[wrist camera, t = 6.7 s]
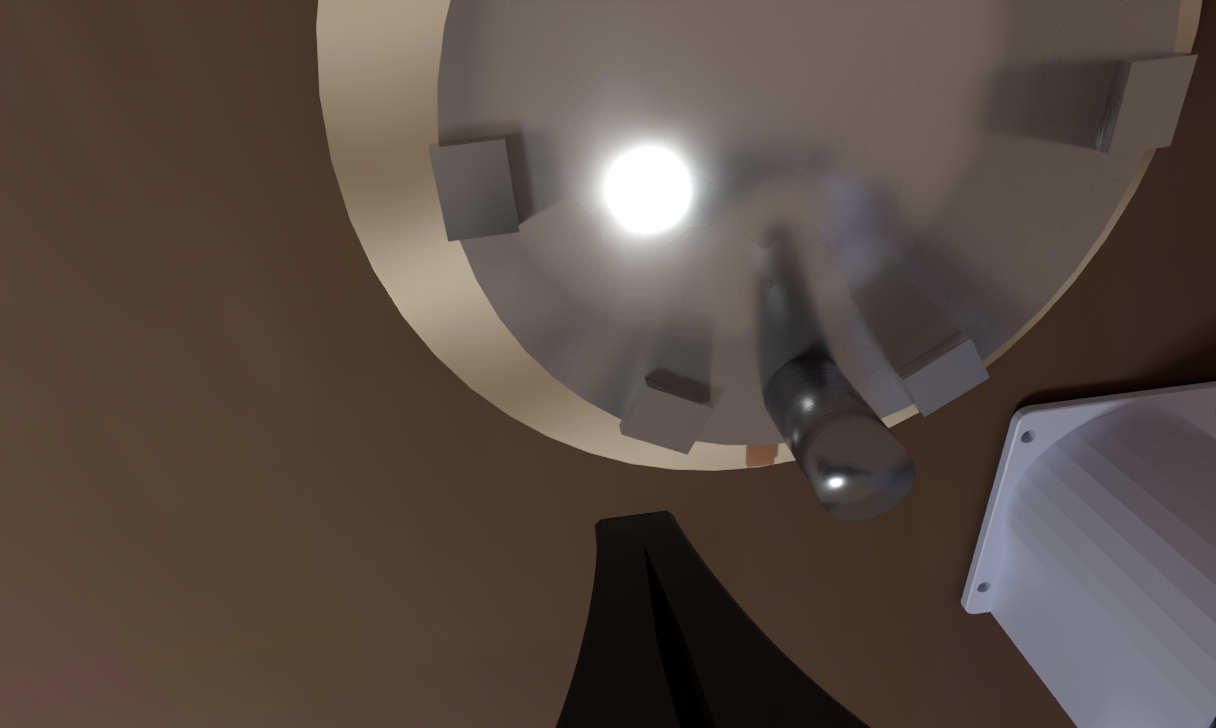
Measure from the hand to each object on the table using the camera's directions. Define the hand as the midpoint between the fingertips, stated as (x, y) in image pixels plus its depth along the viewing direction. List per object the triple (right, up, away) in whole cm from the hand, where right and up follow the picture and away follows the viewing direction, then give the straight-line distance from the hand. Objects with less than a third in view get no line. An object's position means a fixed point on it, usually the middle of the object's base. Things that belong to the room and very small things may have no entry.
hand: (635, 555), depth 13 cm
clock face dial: (+3, +9, +3) cm, 10 cm away
